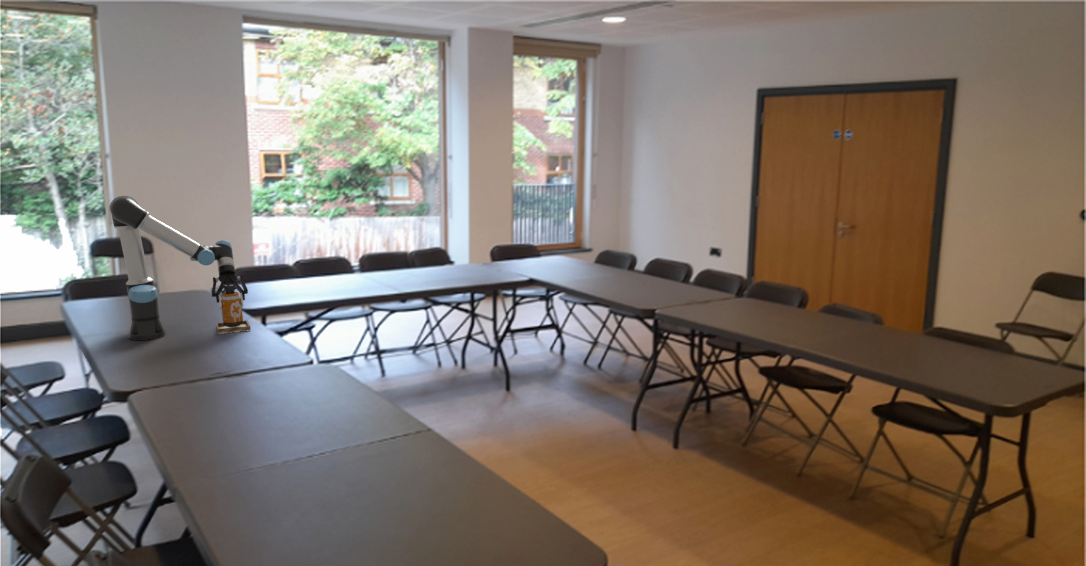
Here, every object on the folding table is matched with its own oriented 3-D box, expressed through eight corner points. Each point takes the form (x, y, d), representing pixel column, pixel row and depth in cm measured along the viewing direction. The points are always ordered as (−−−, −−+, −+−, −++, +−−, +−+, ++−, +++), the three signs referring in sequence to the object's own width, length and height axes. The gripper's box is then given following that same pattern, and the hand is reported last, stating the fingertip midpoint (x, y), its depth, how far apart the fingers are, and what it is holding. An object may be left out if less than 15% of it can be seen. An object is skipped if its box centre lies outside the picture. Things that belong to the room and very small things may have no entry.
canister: (230, 328, 362) (225, 287, 358) (217, 325, 369) (213, 284, 364) (247, 324, 369) (243, 284, 365) (234, 321, 376) (230, 281, 371)
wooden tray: (217, 334, 360) (217, 329, 360) (215, 327, 372) (215, 323, 372) (250, 330, 367) (250, 326, 366) (247, 324, 378) (247, 320, 378)
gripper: (249, 271, 383) (255, 308, 372) (202, 274, 373) (207, 313, 362) (249, 262, 377) (256, 299, 366) (202, 265, 368) (206, 304, 357)
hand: (231, 306), depth 364 cm, fingers closed on canister, 9 cm apart
